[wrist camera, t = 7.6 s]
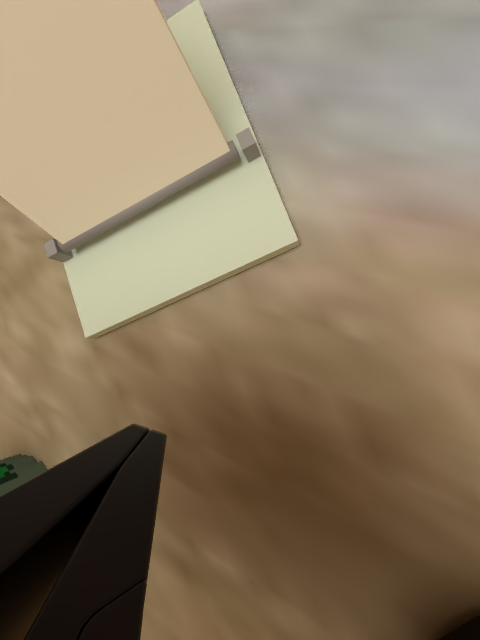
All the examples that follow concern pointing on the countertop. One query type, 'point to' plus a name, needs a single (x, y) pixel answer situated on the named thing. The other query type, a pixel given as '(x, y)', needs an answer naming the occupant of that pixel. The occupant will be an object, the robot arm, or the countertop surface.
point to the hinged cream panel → (98, 115)
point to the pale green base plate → (184, 215)
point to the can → (18, 471)
